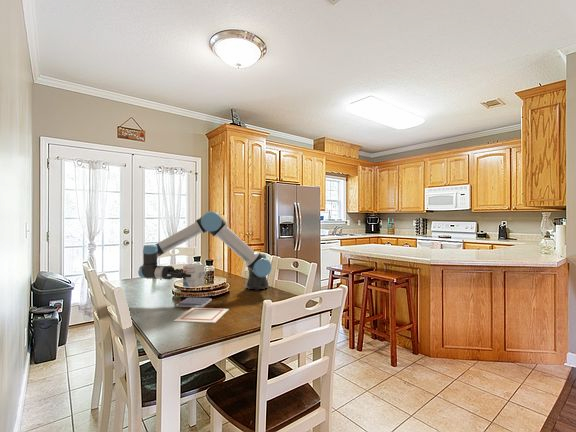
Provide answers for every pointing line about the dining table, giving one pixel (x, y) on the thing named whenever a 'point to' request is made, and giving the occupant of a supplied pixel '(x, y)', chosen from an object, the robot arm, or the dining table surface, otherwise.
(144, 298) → the dining table surface
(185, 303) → the ink pad
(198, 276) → the ink box
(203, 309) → the marked sheet
